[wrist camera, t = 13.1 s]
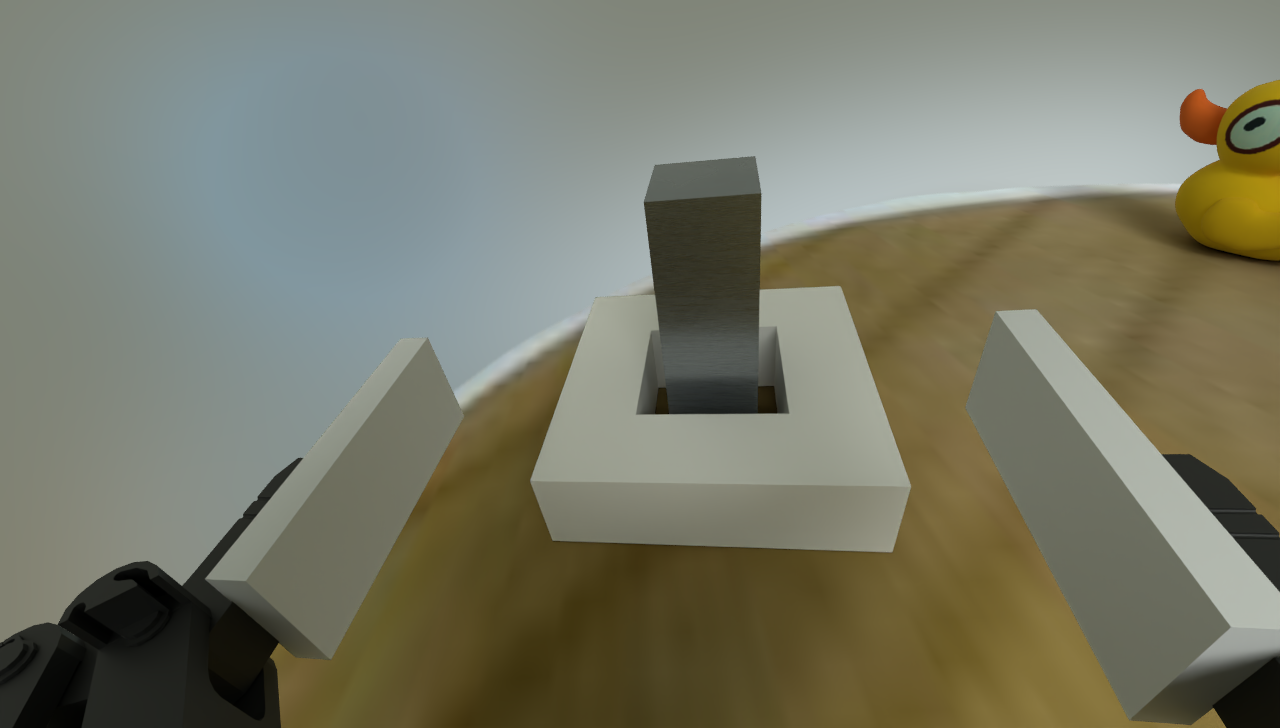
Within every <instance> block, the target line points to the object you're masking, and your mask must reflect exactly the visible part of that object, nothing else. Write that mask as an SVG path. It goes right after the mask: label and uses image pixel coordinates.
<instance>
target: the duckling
mask: <svg viewBox="0 0 1280 728" xmlns="http://www.w3.org/2000/svg"><path fill="white" fill-rule="evenodd" d="M1180 126H1181V129H1182V131H1183V132H1184V133H1185V134H1186V135H1188V136H1189V137H1190V138H1192V139H1193V140H1195V141H1197V142H1199V143H1204V144H1210V145H1217V152H1218V156H1219V158H1220V160H1218V161H1216V162H1213V163H1211V164H1209V165H1207V166H1205V167H1204V168H1202V169H1200V170H1198V171H1197V172H1195V173H1194V174H1192V175H1191V176H1190V177H1189V178H1187V179H1186V180H1185V181H1184V183H1183V184H1182V185H1181V187H1180V189H1179V191H1178V193H1177V196H1176V201H1175V208H1176V212H1177V215H1178V217H1179V218H1180V220H1181V222H1182V224H1183V225H1184V227H1185V228H1186V230H1187V231H1188V233H1189V234H1190V235H1191V236H1192V237H1193V238H1194V239H1195V240H1196V241H1198V242H1199V243H1201V244H1203V245H1205V246H1207V247H1210V248H1214V249H1217V250H1221V251H1226V252H1230V253H1234V254H1238V255H1243V256H1248V257H1252V258H1257V259H1264V260H1280V80H1276V81H1273V82H1269V83H1265V84H1262V85H1259V86H1256V87H1254V88H1252V89H1251V90H1249V91H1247V92H1245V93H1244V94H1243V95H1241V96H1240V97H1239V98H1237V99H1236V100H1235V101H1234V102H1233V103H1232V104H1231V105H1230V106H1229V107H1228V109H1226V108H1223V107H1220V106H1217V105H1215V104H1213V103H1211V102H1210V101H1209V100H1208V99H1207V98H1206V95H1205V92H1204V90H1202V89H1197V90H1195V91H1193V92H1192V93H1190V94H1189V95H1188V96H1187V97H1186V98H1185V100H1184V102H1183V103H1182V105H1181V109H1180Z"/></svg>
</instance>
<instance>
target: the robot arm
mask: <svg viewBox="0 0 1280 728" xmlns="http://www.w3.org/2000/svg"><path fill="white" fill-rule="evenodd" d="M965 408H966V410H967V412H968V414H969V416H970V418H971V419H972V421H973V423H974V425H975V427H976V429H977V431H978V433H979V435H980V437H981V439H982V440H983V442H984V444H985V446H986V448H987V450H988V452H989V454H990V456H991V458H992V460H993V461H994V463H995V465H996V467H997V469H998V471H999V473H1000V475H1001V477H1002V479H1003V481H1004V482H1005V484H1006V486H1007V488H1008V490H1009V492H1010V494H1011V496H1012V498H1013V500H1014V502H1015V503H1016V505H1017V507H1018V509H1019V511H1020V513H1021V515H1022V517H1023V519H1024V521H1025V522H1026V524H1027V526H1028V528H1029V530H1030V532H1031V534H1032V536H1033V538H1034V540H1035V542H1036V543H1037V545H1038V547H1039V549H1040V551H1041V553H1042V555H1043V557H1044V559H1045V561H1046V563H1047V564H1048V566H1049V568H1050V570H1051V572H1052V574H1053V576H1054V578H1055V580H1056V582H1057V584H1058V585H1059V587H1060V589H1061V591H1062V593H1063V595H1064V597H1065V599H1066V601H1067V603H1068V605H1069V606H1070V608H1071V610H1072V612H1073V614H1074V616H1075V618H1076V620H1077V622H1078V624H1079V626H1080V627H1081V629H1082V631H1083V633H1084V635H1085V637H1086V639H1087V641H1088V643H1089V645H1090V646H1091V648H1092V650H1093V652H1094V654H1095V656H1096V658H1097V660H1098V662H1099V664H1100V666H1101V667H1102V669H1103V671H1104V673H1105V675H1106V677H1107V679H1108V681H1109V683H1110V685H1111V687H1112V688H1113V690H1114V692H1115V694H1116V696H1117V698H1118V700H1119V702H1120V704H1121V706H1122V708H1123V709H1124V711H1125V713H1126V715H1127V717H1128V719H1129V720H1133V721H1146V722H1159V723H1172V724H1186V725H1192V724H1193V723H1194V722H1196V721H1197V720H1198V719H1199V718H1201V717H1202V716H1203V715H1205V714H1206V713H1207V712H1209V711H1210V710H1211V709H1212V708H1214V709H1215V711H1216V712H1217V714H1218V715H1219V717H1220V718H1221V720H1222V721H1223V723H1224V725H1225V726H1226V728H1280V537H1279V532H1278V531H1277V530H1276V529H1275V528H1274V527H1273V526H1272V525H1271V524H1270V523H1269V522H1268V521H1267V520H1266V519H1265V518H1264V516H1263V515H1258V514H1257V513H1256V508H1255V507H1254V506H1253V505H1252V504H1251V503H1250V502H1249V501H1248V500H1247V499H1246V497H1245V496H1244V495H1243V494H1242V493H1241V492H1240V491H1239V490H1238V489H1237V488H1236V487H1235V486H1234V485H1233V484H1232V483H1231V482H1230V481H1229V479H1227V478H1226V477H1224V476H1222V475H1221V474H1219V473H1218V472H1216V471H1215V470H1213V469H1212V468H1210V467H1209V466H1207V465H1206V464H1204V463H1202V462H1201V461H1199V460H1198V459H1196V458H1195V457H1193V456H1192V455H1190V454H1160V452H1159V451H1158V450H1157V449H1156V448H1155V447H1154V445H1153V444H1152V443H1151V442H1150V441H1149V440H1148V438H1147V437H1146V436H1145V435H1144V434H1143V433H1142V431H1141V430H1140V429H1139V428H1138V427H1137V426H1136V424H1135V423H1134V422H1133V421H1132V420H1131V419H1130V418H1129V416H1128V415H1127V414H1126V413H1125V412H1124V411H1123V409H1122V408H1121V407H1120V406H1119V405H1118V404H1117V402H1116V401H1115V400H1114V399H1113V398H1112V397H1111V395H1110V394H1109V393H1108V392H1107V391H1106V390H1105V388H1104V387H1103V386H1102V385H1101V384H1100V383H1099V381H1098V380H1097V379H1096V378H1095V377H1094V376H1093V374H1092V373H1091V372H1090V371H1089V370H1088V369H1087V368H1086V366H1085V365H1084V364H1083V363H1082V362H1081V361H1080V359H1079V358H1078V357H1077V356H1076V355H1075V354H1074V352H1073V351H1072V350H1071V349H1070V348H1069V347H1068V345H1067V344H1066V343H1065V342H1064V341H1063V340H1062V338H1061V337H1060V336H1059V335H1058V334H1057V333H1056V331H1055V330H1054V329H1053V328H1052V327H1051V326H1050V324H1049V323H1048V322H1047V321H1046V320H1045V319H1044V318H1043V316H1042V315H1041V314H1040V313H1039V312H1038V311H1037V309H1032V310H1011V311H996V312H995V315H994V319H993V322H992V325H991V328H990V331H989V334H988V338H987V341H986V344H985V347H984V350H983V353H982V357H981V360H980V363H979V366H978V369H977V372H976V375H975V379H974V382H973V385H972V388H971V391H970V394H969V398H968V401H967V404H966V407H965ZM463 417H464V415H463V413H462V411H461V409H460V406H459V404H458V402H457V400H456V398H455V396H454V393H453V391H452V389H451V387H450V385H449V383H448V380H447V379H446V376H445V374H444V372H443V370H442V368H441V365H440V363H439V361H438V359H437V357H436V355H435V352H434V350H433V348H432V346H431V344H430V342H429V339H428V338H408V339H400V340H399V341H398V343H397V344H396V345H395V346H394V348H393V349H392V350H391V351H390V353H389V354H388V355H387V356H386V358H385V359H384V360H383V361H382V362H381V363H380V365H379V366H378V367H377V368H376V370H375V371H374V372H373V373H372V375H371V376H370V377H369V378H368V379H367V381H366V382H365V383H364V385H363V386H362V387H361V388H360V389H359V391H358V392H357V393H356V394H355V396H354V397H353V398H352V399H351V400H350V402H349V403H348V404H347V405H346V406H345V408H344V409H343V410H342V411H341V413H340V414H339V415H338V417H337V418H336V419H335V420H334V421H333V422H332V424H331V425H330V426H329V427H328V429H327V430H326V431H325V432H324V434H323V435H322V436H321V437H320V438H319V440H318V441H317V442H316V443H315V445H314V446H313V447H312V448H311V450H310V451H309V452H308V453H307V454H306V456H305V457H304V458H298V459H296V460H295V461H294V462H293V463H291V464H290V465H289V466H288V467H286V468H285V469H284V470H282V471H281V472H280V473H278V474H277V475H276V476H275V477H274V478H273V479H272V480H271V482H270V483H269V484H268V485H267V486H266V487H265V489H264V490H263V491H262V492H261V493H260V495H259V496H258V500H257V501H254V502H253V503H252V504H251V505H250V506H249V508H248V509H247V510H246V511H245V512H244V514H243V518H242V519H239V520H238V521H237V522H236V523H235V524H234V525H233V527H232V528H231V529H230V530H229V531H228V533H227V534H226V535H225V536H224V537H223V539H222V540H221V541H220V542H219V543H218V545H217V546H216V547H215V548H214V549H213V551H212V552H211V553H210V554H209V555H208V557H207V558H206V559H205V560H204V561H203V562H202V564H201V565H200V566H199V567H198V569H197V570H196V571H195V572H194V573H193V574H192V575H191V577H190V578H189V579H188V580H187V581H186V583H184V585H183V586H181V585H180V584H178V583H177V582H176V581H175V580H174V579H173V578H171V577H170V576H169V575H167V574H166V573H165V572H164V571H163V570H161V569H160V568H159V567H158V566H157V565H155V564H153V563H150V562H148V561H144V562H134V563H131V564H128V565H125V566H122V567H120V568H117V569H115V570H113V571H111V572H110V573H108V574H106V575H105V576H103V577H101V578H100V579H98V580H96V581H95V582H94V583H93V584H91V585H90V586H89V587H88V588H86V589H85V590H84V591H83V592H81V593H80V594H79V595H78V596H77V597H76V598H75V600H74V601H73V602H72V603H71V604H70V605H69V606H68V607H67V609H66V610H65V612H64V614H63V616H62V617H61V619H60V621H59V623H58V625H56V624H52V623H44V624H39V625H34V626H32V627H29V628H27V629H25V630H23V631H21V632H18V633H16V634H14V635H13V636H11V637H10V638H8V639H6V640H5V641H4V642H1V643H0V728H281V722H280V708H279V693H278V678H277V669H276V666H275V663H274V661H273V660H272V659H271V658H270V656H271V654H272V652H273V651H274V649H275V648H276V646H277V645H278V643H280V644H281V645H282V646H283V647H284V648H285V649H287V650H288V651H289V652H290V653H291V654H292V655H294V656H295V657H298V658H312V659H325V660H331V659H332V657H333V655H334V653H335V652H336V650H337V648H338V646H339V644H340V642H341V641H342V639H343V637H344V635H345V633H346V631H347V630H348V628H349V626H350V624H351V622H352V620H353V619H354V617H355V615H356V613H357V611H358V609H359V608H360V606H361V604H362V602H363V600H364V598H365V597H366V595H367V593H368V591H369V589H370V587H371V586H372V584H373V582H374V580H375V578H376V576H377V575H378V573H379V571H380V569H381V567H382V565H383V564H384V562H385V560H386V558H387V556H388V555H389V553H390V551H391V549H392V547H393V545H394V544H395V542H396V540H397V538H398V536H399V534H400V533H401V531H402V529H403V527H404V525H405V523H406V522H407V520H408V518H409V516H410V514H411V512H412V511H413V509H414V507H415V505H416V503H417V501H418V500H419V498H420V496H421V494H422V492H423V490H424V489H425V487H426V485H427V483H428V481H429V479H430V478H431V476H432V474H433V472H434V470H435V468H436V467H437V465H438V463H439V461H440V459H441V458H442V456H443V454H444V452H445V450H446V448H447V447H448V445H449V443H450V441H451V439H452V437H453V436H454V434H455V432H456V430H457V428H458V426H459V425H460V423H461V421H462V419H463ZM60 626H61V627H60ZM68 631H69V632H68ZM73 634H74V635H73Z"/></svg>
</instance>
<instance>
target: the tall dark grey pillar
mask: <svg viewBox="0 0 1280 728" xmlns="http://www.w3.org/2000/svg"><path fill="white" fill-rule="evenodd" d="M644 207H645V216H646V224H647V232H648V241H649V249H650V257H651V265H652V274H653V282H654V290H655V299H656V307H657V315H658V324H659V332H660V340H661V349H662V357H663V365H664V374H665V382H666V390H667V398H668V407H669V414H758V359H759V300H760V241H761V189H760V182H759V176H758V171H757V165H756V158H755V156H754V157H742V158H731V159H719V160H707V161H696V162H684V163H673V164H663V165H655V166H654V170H653V173H652V177H651V180H650V183H649V187H648V190H647V194H646V197H645V200H644Z"/></svg>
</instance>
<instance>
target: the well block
mask: <svg viewBox="0 0 1280 728" xmlns="http://www.w3.org/2000/svg"><path fill="white" fill-rule="evenodd" d="M758 386H774V389H775V397H776V405H777V413H778V414H661V415H655V409H656V402H657V395H658V388H666V382H665V374H664V365H663V357H662V349H661V340H660V332H659V324H658V315H657V307H656V299H655V295H634V296H612V297H596V298H595V300H594V303H593V306H592V309H591V311H590V314H589V317H588V320H587V323H586V325H585V328H584V331H583V334H582V337H581V339H580V342H579V345H578V348H577V351H576V353H575V356H574V359H573V362H572V365H571V368H570V370H569V373H568V376H567V379H566V382H565V384H564V387H563V390H562V393H561V396H560V398H559V401H558V404H557V407H556V410H555V412H554V415H553V418H552V421H551V424H550V426H549V429H548V432H547V435H546V438H545V440H544V443H543V446H542V449H541V452H540V454H539V457H538V460H537V463H536V466H535V468H534V471H533V474H532V477H531V480H530V482H531V485H532V488H533V490H534V493H535V496H536V498H537V501H538V504H539V506H540V509H541V512H542V514H543V517H544V519H545V522H546V525H547V527H548V530H549V533H550V535H551V538H552V541H576V542H604V543H633V544H662V545H691V546H720V547H749V548H778V549H807V550H836V551H865V552H892V551H893V548H894V545H895V541H896V538H897V534H898V531H899V527H900V524H901V520H902V517H903V513H904V510H905V506H906V503H907V499H908V496H909V492H910V489H911V485H910V482H909V479H908V476H907V473H906V471H905V468H904V465H903V462H902V459H901V456H900V454H899V451H898V448H897V445H896V442H895V439H894V436H893V434H892V431H891V428H890V425H889V422H888V419H887V417H886V414H885V411H884V408H883V405H882V402H881V400H880V397H879V394H878V391H877V388H876V385H875V382H874V380H873V377H872V374H871V371H870V368H869V365H868V363H867V360H866V357H865V354H864V351H863V348H862V346H861V343H860V340H859V337H858V334H857V331H856V328H855V326H854V323H853V320H852V317H851V314H850V311H849V309H848V306H847V303H846V300H845V297H844V294H843V292H842V289H841V286H832V287H810V288H788V289H766V290H760V300H759V359H758Z"/></svg>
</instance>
